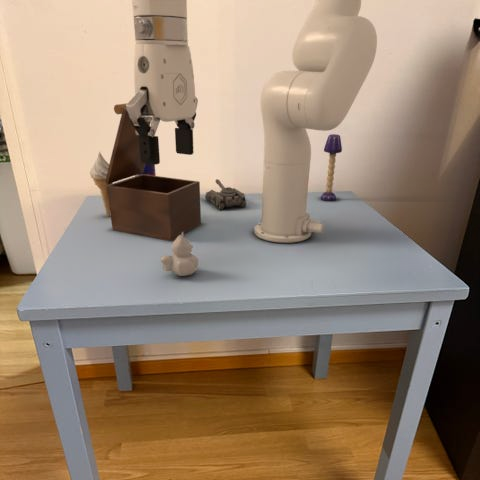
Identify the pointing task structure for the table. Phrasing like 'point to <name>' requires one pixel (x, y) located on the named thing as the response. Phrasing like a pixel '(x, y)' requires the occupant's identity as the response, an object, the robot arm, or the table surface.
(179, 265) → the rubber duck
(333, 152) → the toy lamp
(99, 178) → the ice cream cone
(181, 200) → the chest
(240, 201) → the tank toy
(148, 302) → the table surface
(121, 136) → the chest lid
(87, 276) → the table surface
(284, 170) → the robot arm
